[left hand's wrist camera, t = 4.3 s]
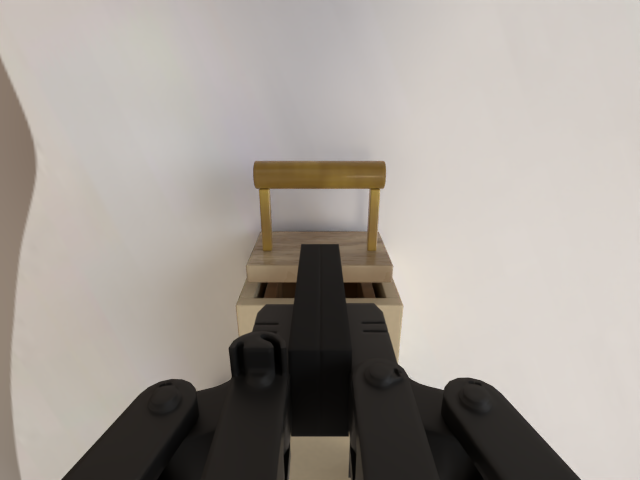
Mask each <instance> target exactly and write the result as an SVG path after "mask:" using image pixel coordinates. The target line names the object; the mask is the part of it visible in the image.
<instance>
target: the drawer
mask: <svg viewBox="0 0 640 480" xmlns="http://www.w3.org/2000/svg"><path fill="white" fill-rule="evenodd" d="M253 177H254V185H255V188H256V189H259V196H260V212H261V229H262V232H260V235H259V237H258V240H257V242H256V244H255V247H254V249H253V251H252V254H251V256H250V258H249V261H248V263H247V265H246V271H247V281H248V282H268V284H267V288H266V291H265V295H264V298H294V297H295V289H296V281H297V273H298V265H299V257H300V249H301V244H339V249H340V257H341V265H342V273H343V281H344V289H345V297H346V298H376V297H375V293H374V290H373V286H372V282H392V274H393V265H392V262H391V260H390V258H389V255H388V253H387V250H386V248H385V246H384V243H383V241H382V239H381V236H380V234H379V232H378V217H379V201H380V189H383V188H384V186H385V181H386V166H385V162H384V161H255V163H254V168H253ZM270 189H370V190H369V210H368V230H367V232H272V222H271V203H270Z"/></svg>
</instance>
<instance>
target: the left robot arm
mask: <svg viewBox="0 0 640 480" xmlns="http://www.w3.org/2000/svg"><path fill="white" fill-rule="evenodd" d="M229 355H230V364H231V373H232V378H231V380H229V381H228V382H226V383H224V384H222V385H219V386H216V387H213V388H209V389H205V390H201V391H197V392H196V389H195V387H194V386H193V385H192V384H191V383H190V382H187V381H185V380H182V379H170V380H166V381H161V382H158V383H156V384H154V385H152V386H150V387H148V388H147V389H146V390H145V391H143V392H142V393H141V394H140V395H139V396H138V397H137V398H136V399H135V400H134V401H133V402H132V403H131V404H130V405H129V407H128V408H127V409H126V410H125V411H124V412H123V413H122V414H121V415H120V416H119V417H118V419H117V420H116V421H115V422H114V423H113V424H112V425H111V426H110V427H109V428H108V429H107V430H106V432H105V433H104V434H103V435H102V436H101V437H100V438H99V439H98V440H97V441H96V442H95V444H94V445H93V446H92V447H91V448H90V449H89V450H88V451H87V452H86V453H85V454H84V456H83V457H82V458H81V459H80V460H79V461H78V462H77V463H76V464H75V465H74V466H73V468H72V469H71V470H70V471H69V472H68V473H67V474H66V475H65V476H64V477H63V478H62V480H289V473H290V460H291V449H290V438H291V437H349V436H350V448H349V473H348V478H351V480H581V479H580V478H579V477H578V476H577V475H576V474H575V473H574V472H573V471H572V469H571V468H570V467H569V466H568V465H567V464H566V463H565V462H564V461H563V460H562V459H561V458H560V457H559V455H558V454H557V453H556V452H555V451H554V450H553V449H552V448H551V447H550V446H549V445H548V444H547V442H546V441H545V440H544V439H543V438H542V437H541V436H540V435H539V434H538V433H537V432H536V431H535V429H534V428H533V427H532V426H531V425H530V424H529V423H528V422H527V421H526V420H525V419H524V418H523V416H522V415H521V414H520V413H519V412H518V411H517V410H516V409H515V408H514V407H513V406H512V405H511V403H510V402H509V401H508V400H507V399H506V398H505V397H504V396H503V395H502V394H501V393H500V392H499V391H498V390H496V389H495V388H494V387H493V386H491V385H489V384H487V383H485V382H483V381H481V380H477V379H473V378H457V379H454V380H452V381H449V383H448V384H447V385H446V386H445V388H444V390H441V389H437V388H433V387H429V386H425V385H422V384H419V383H417V382H415V381H413V380H411V379H410V378H409V377H408V375H407V373H406V372H405V370H404V369H403V368H402V367H401V366H399V365H398V363H397V360H396V356H395V353H394V349H393V346H392V342H391V339H390V335H389V332H388V328H387V325H386V321H385V318H384V314H383V311H381V310H380V309H379V308H378V307H377V306H376V305H375V304H374V303H346V297H345V289H344V281H343V273H342V265H341V257H340V249H339V244H301V249H300V257H299V265H298V273H297V281H296V289H295V297H294V304H266V305H265V306H264V307H263V308H262V309H261V310H260V311H259V312H258V313H257V316H256V319H255V323H254V326H253V330H252V332H250V333H247V334H244V335H242V336H240V337H239V338H237V339H236V340H234V341H233V342H232V344H231V345H230V347H229Z"/></svg>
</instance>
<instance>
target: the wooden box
mask: <svg viewBox="0 0 640 480" xmlns="http://www.w3.org/2000/svg"><path fill="white" fill-rule="evenodd" d="M267 284H268V282H248V281H247V279H246V281H245V284H244V286H243V289H242V291H241V294H240V297H239V299H238V302H237V305H236V312H237V322H238V333H239V337H240V336H242V335H244V334H247V333H250V332H252V330H253V326H254V323H255V319H256V316H257V313H258V312H259V311H260V310H261V309H262V308H263V307H264V306H265V305H266V304H294V298H264V295H265V291H266V288H267ZM372 286H373V290H374V293H375V297H376V298H346V303H374V304H375V305H376V306H377V307H378V308H379V309H380V310H381V311H383V314H384V318H385V321H386V325H387V328H388V332H389V335H390V339H391V342H392V346H393V349H394V353H395V356H396V360H397V363H398V357H399V346H400V336H401V325H402V315H403V304H402V301H401V299H400V296H399V293H398V291H397V288H396V286H395V283H394V280H393V278H392V282H372ZM349 448H350V436H349V437H291V438H290V449H291V460H290V473H289V480H351V478H348V473H349Z"/></svg>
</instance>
